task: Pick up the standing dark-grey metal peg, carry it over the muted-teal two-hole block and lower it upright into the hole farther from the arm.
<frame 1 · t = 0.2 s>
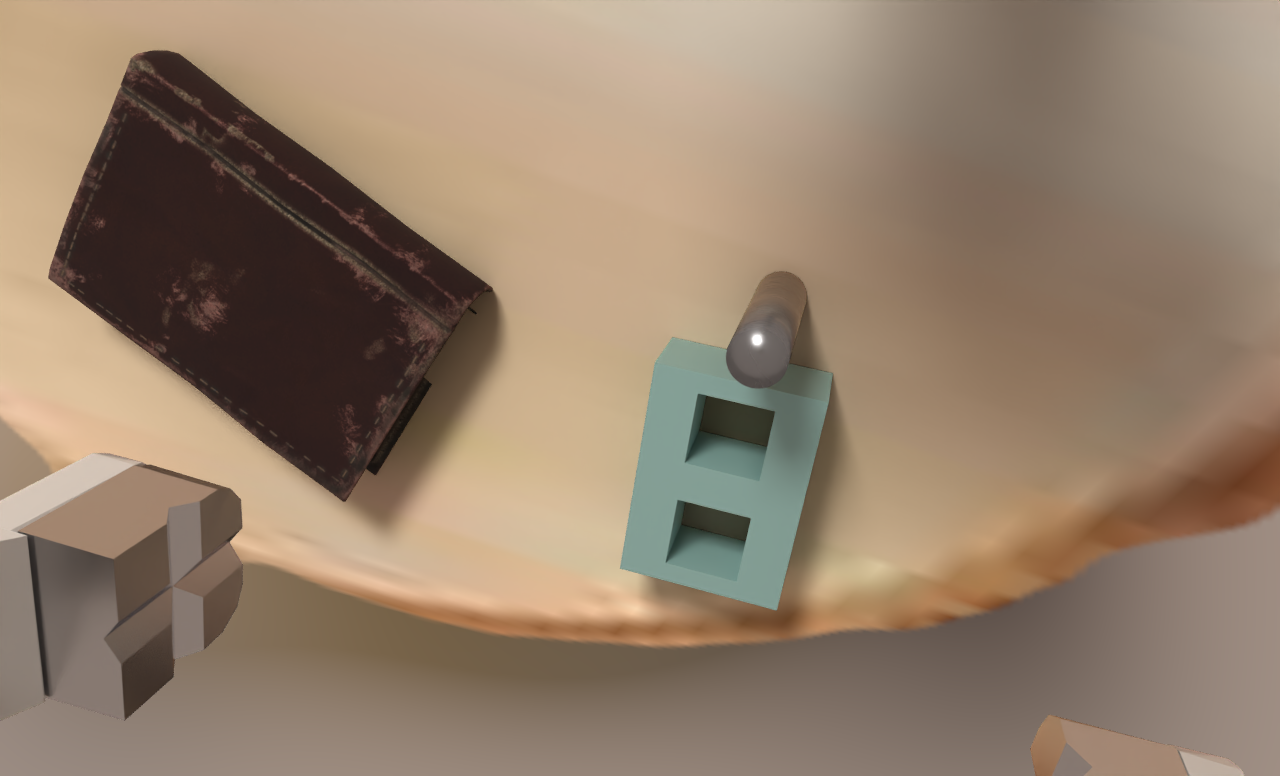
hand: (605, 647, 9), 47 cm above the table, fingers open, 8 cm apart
hole block: (730, 456, 60), on the table
peg: (781, 296, 56), on the table
diary: (287, 275, 64), on the table
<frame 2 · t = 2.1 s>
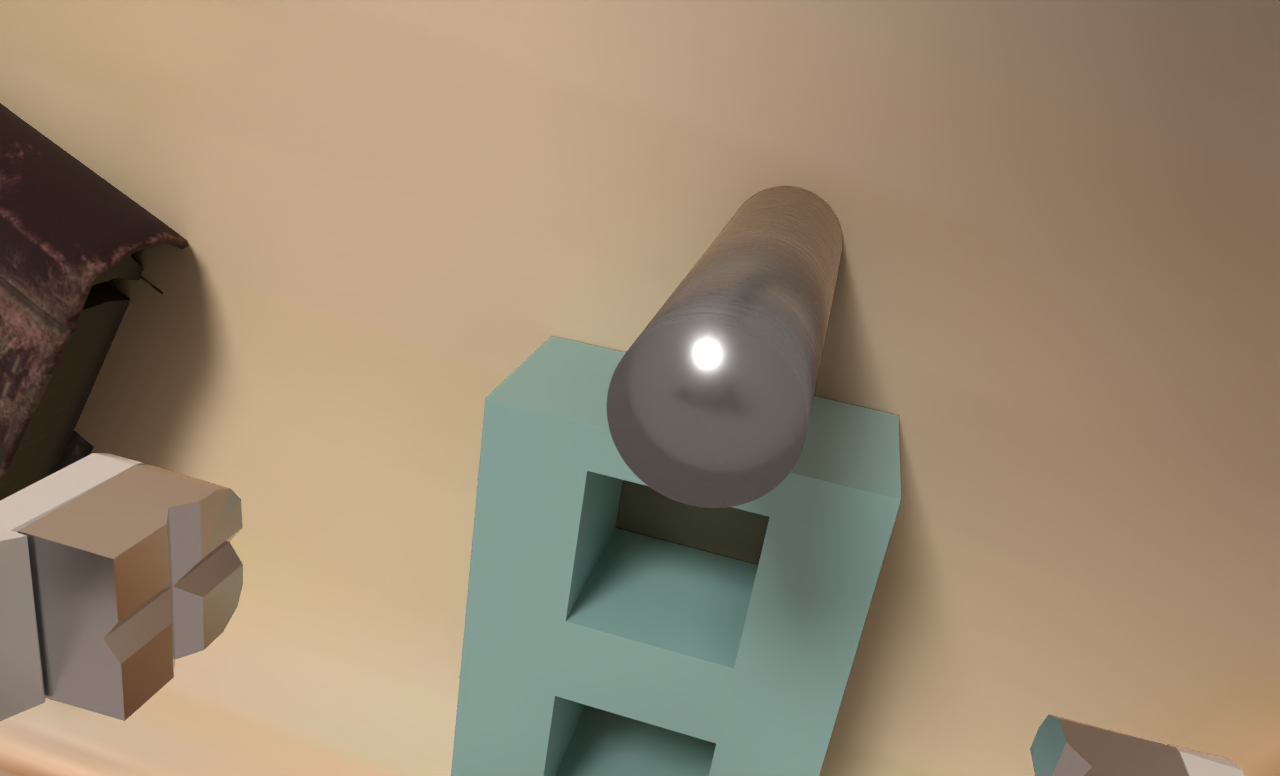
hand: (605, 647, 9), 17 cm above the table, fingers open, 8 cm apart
hole block: (679, 580, 29), on the table
peg: (784, 243, 25), on the table
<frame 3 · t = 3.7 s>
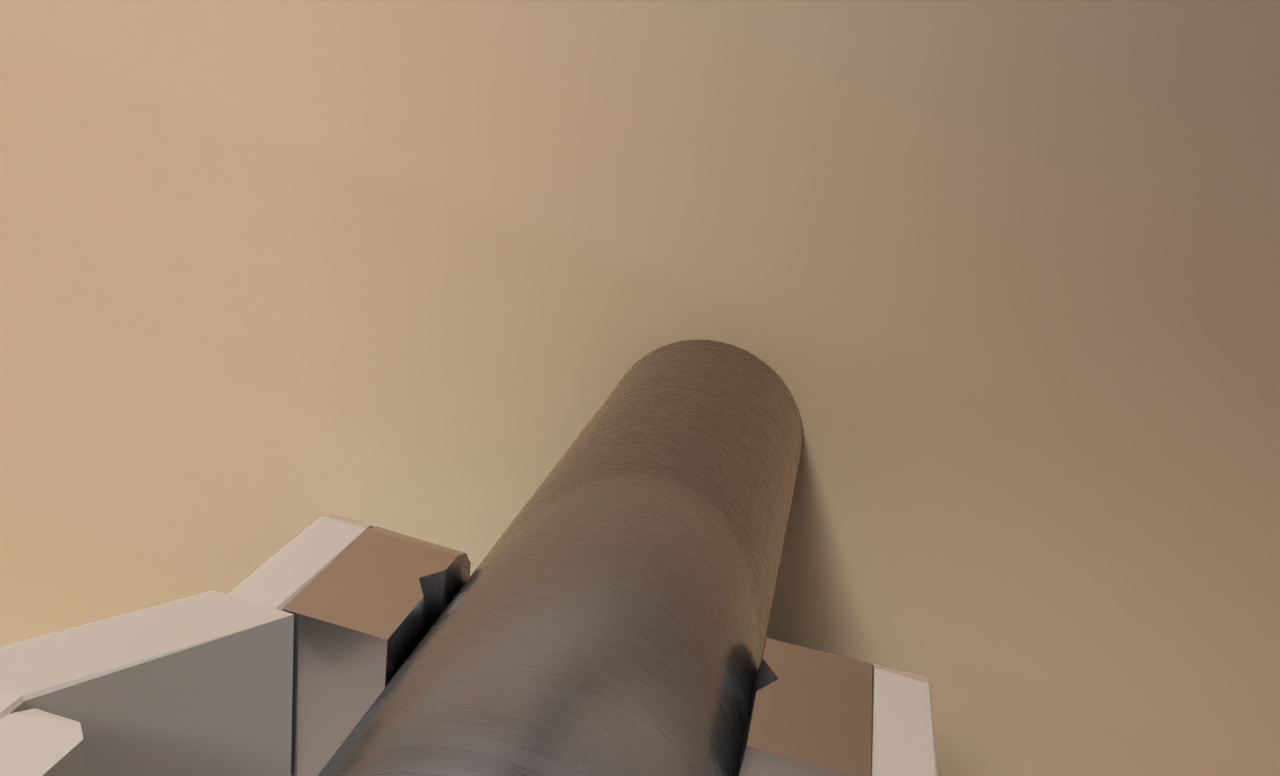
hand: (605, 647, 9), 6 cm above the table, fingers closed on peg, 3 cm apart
peg: (703, 433, 14), on the table, touching gripper
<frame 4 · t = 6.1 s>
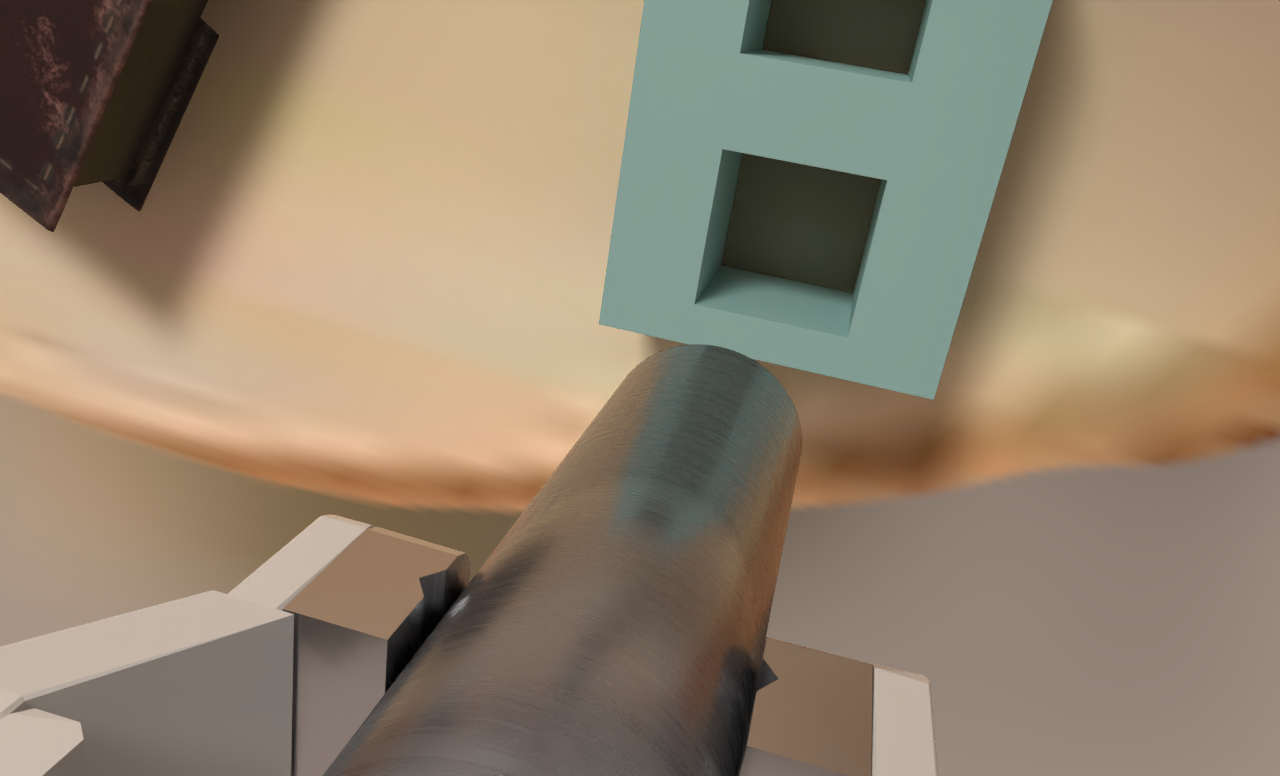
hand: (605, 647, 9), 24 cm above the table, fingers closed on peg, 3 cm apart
hole block: (824, 103, 29), on the table
peg: (702, 438, 14), point 18 cm above the table, touching gripper
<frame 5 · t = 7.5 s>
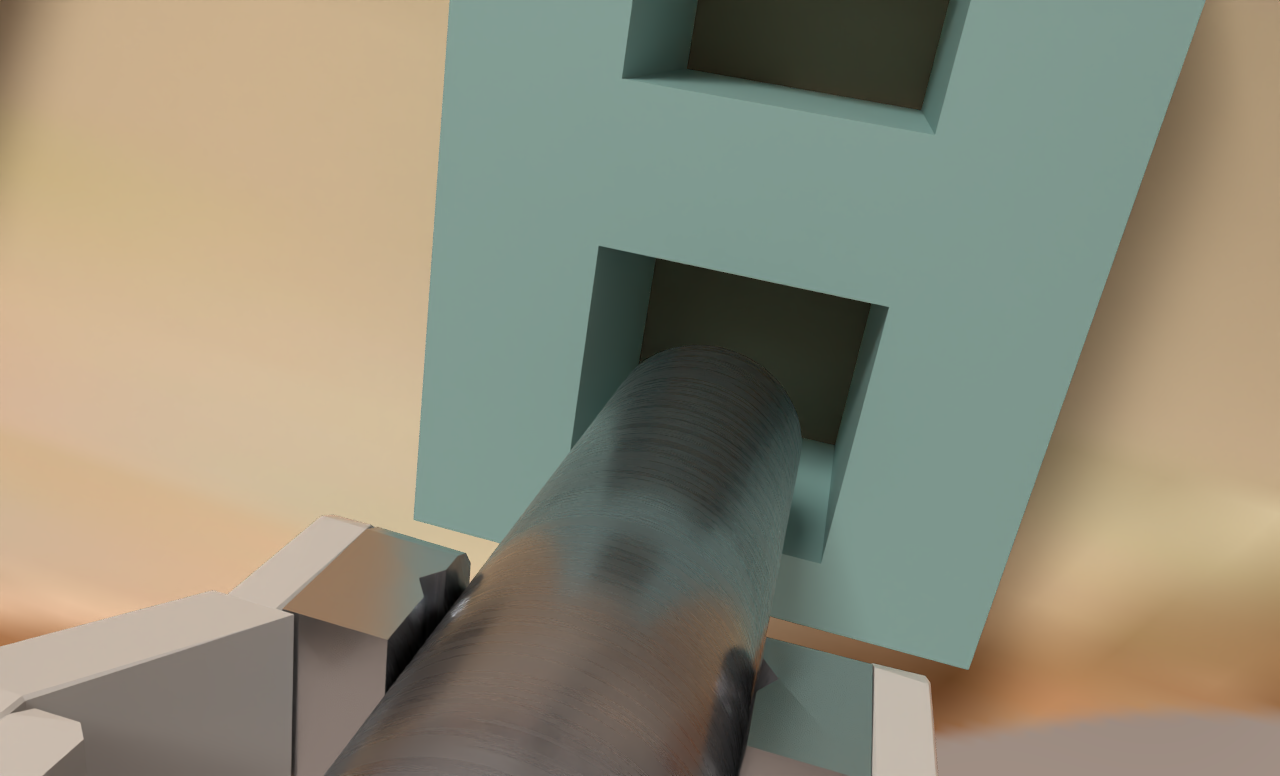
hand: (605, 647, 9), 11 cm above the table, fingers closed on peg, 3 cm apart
hole block: (787, 155, 18), on the table
peg: (702, 438, 14), point 6 cm above the table, touching gripper
when the fingers open (7 cm above the table, at t = 8.6 s): peg drops 1 cm, resting in hole block.
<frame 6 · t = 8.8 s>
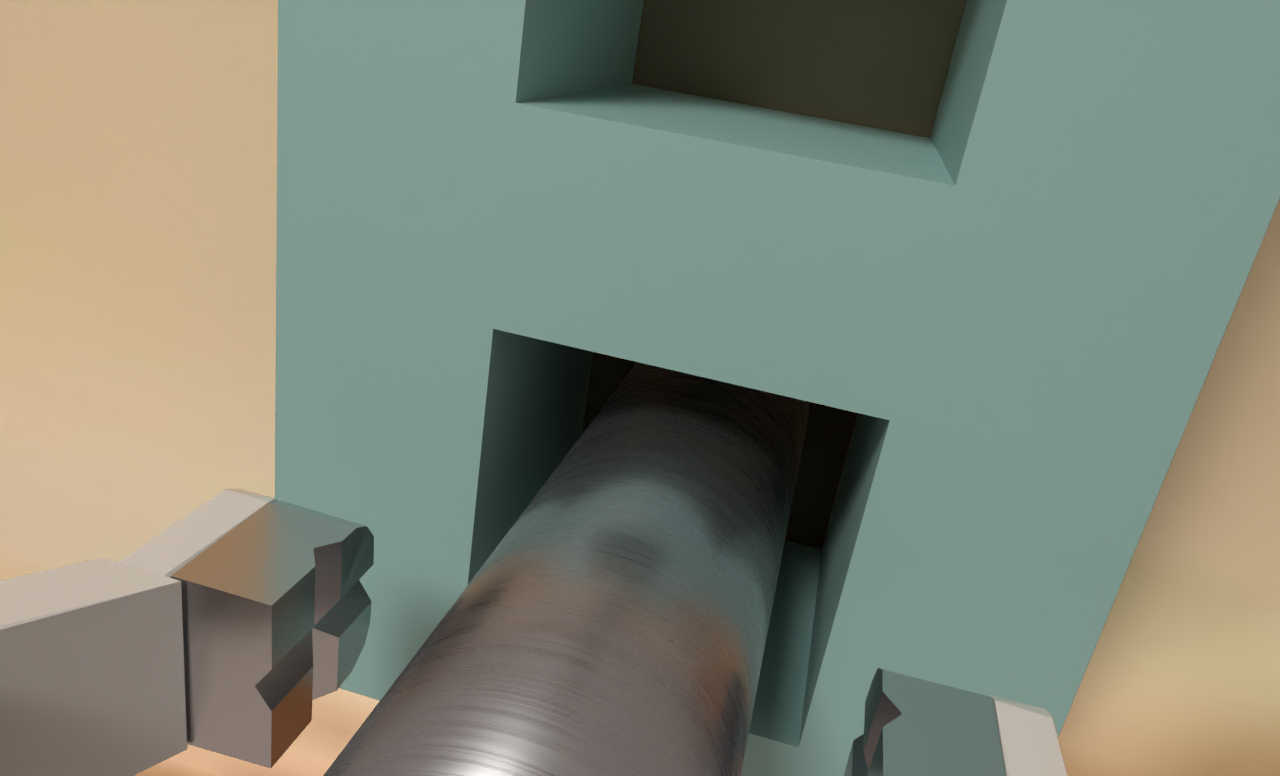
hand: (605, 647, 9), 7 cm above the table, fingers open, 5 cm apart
hole block: (760, 193, 14), on the table
peg: (718, 402, 16), resting in hole block
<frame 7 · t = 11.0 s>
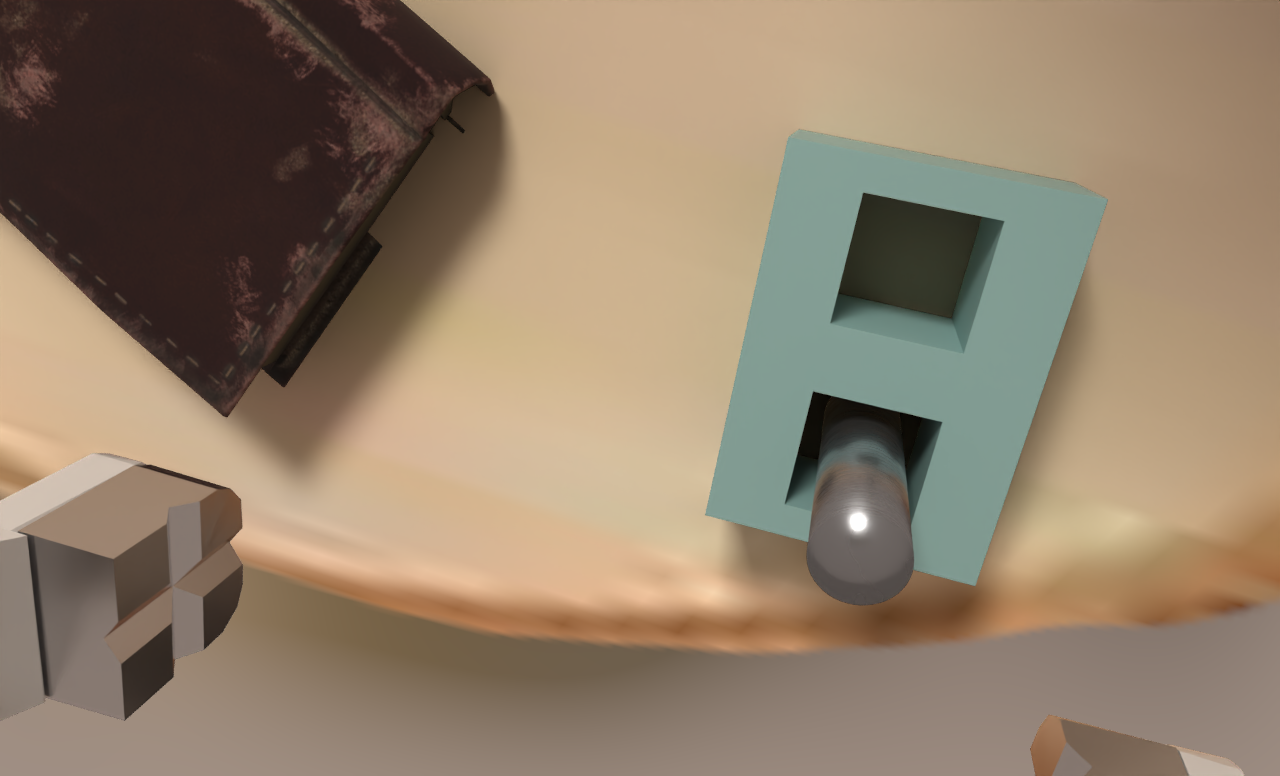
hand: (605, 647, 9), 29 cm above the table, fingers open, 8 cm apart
hole block: (884, 335, 37), on the table
peg: (861, 418, 38), resting in hole block
diary: (170, 57, 41), on the table
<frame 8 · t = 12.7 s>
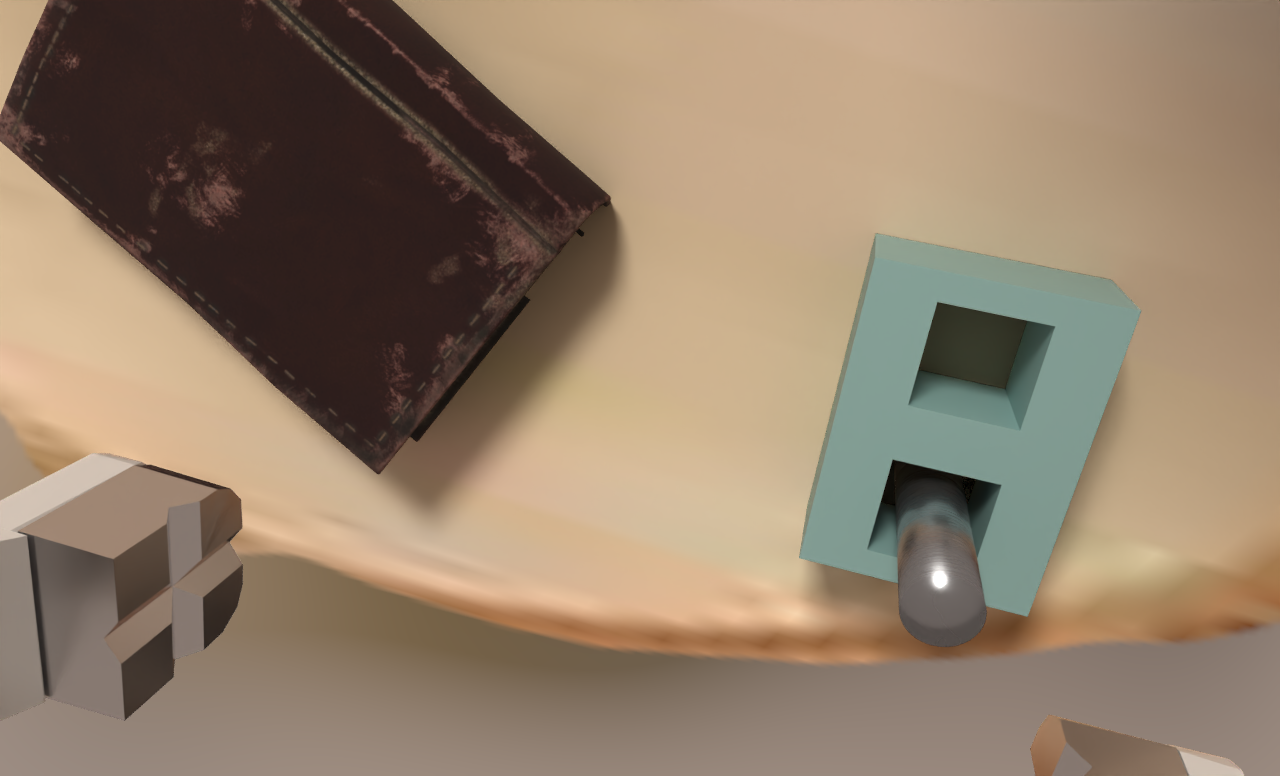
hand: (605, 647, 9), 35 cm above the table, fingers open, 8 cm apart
hole block: (947, 402, 43), on the table
peg: (926, 470, 45), resting in hole block
diary: (323, 164, 47), on the table
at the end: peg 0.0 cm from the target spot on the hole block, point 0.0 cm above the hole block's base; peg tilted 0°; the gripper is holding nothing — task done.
